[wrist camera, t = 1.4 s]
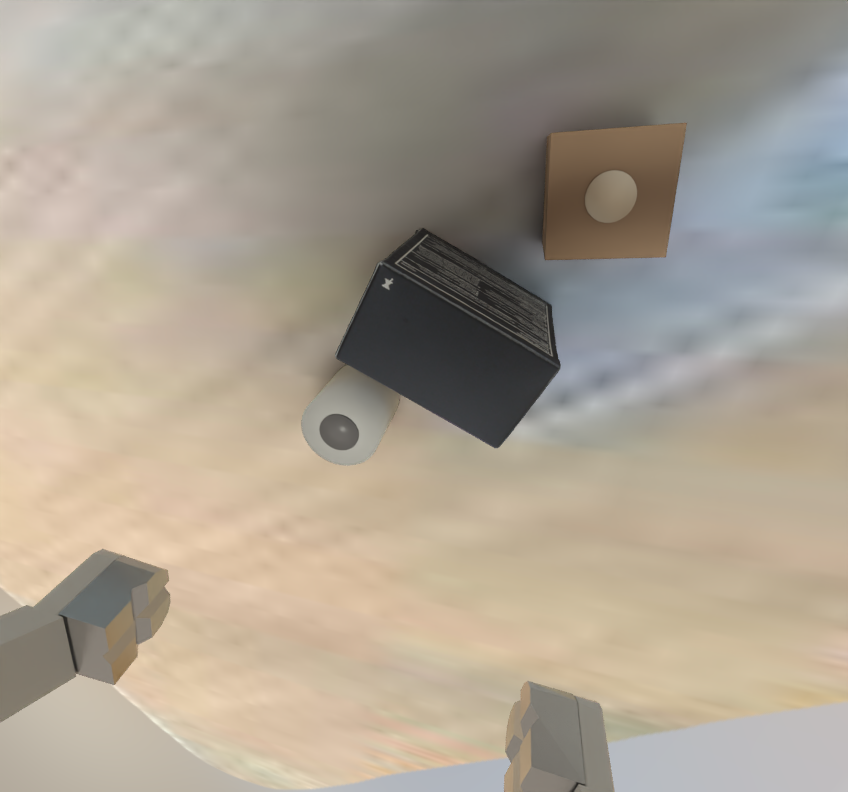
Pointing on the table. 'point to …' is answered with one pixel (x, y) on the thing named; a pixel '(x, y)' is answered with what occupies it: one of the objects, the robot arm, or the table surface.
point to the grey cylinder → (349, 417)
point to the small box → (453, 337)
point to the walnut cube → (611, 192)
